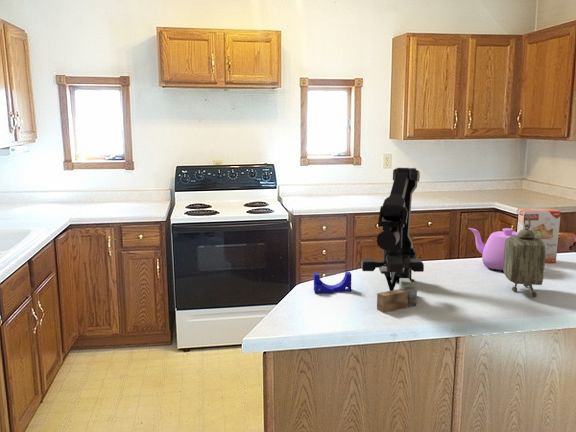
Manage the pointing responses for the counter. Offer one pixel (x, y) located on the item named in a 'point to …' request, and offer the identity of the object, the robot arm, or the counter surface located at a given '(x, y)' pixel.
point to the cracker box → (543, 228)
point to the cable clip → (330, 289)
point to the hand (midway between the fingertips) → (391, 291)
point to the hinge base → (394, 300)
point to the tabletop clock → (524, 259)
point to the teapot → (493, 247)
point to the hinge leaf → (408, 287)
